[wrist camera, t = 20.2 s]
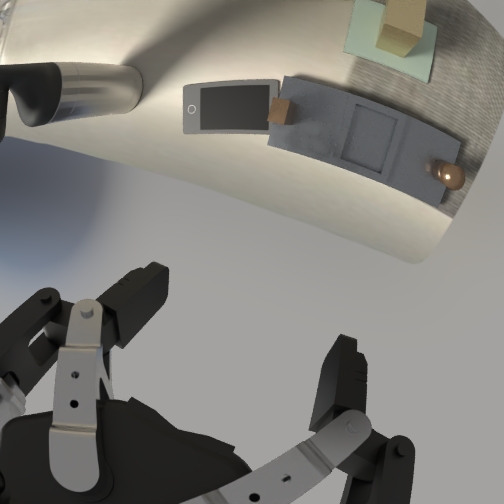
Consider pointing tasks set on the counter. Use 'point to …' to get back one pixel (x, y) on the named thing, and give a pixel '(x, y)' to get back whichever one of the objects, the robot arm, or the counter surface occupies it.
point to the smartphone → (229, 107)
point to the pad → (363, 46)
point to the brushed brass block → (401, 26)
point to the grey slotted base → (365, 139)
